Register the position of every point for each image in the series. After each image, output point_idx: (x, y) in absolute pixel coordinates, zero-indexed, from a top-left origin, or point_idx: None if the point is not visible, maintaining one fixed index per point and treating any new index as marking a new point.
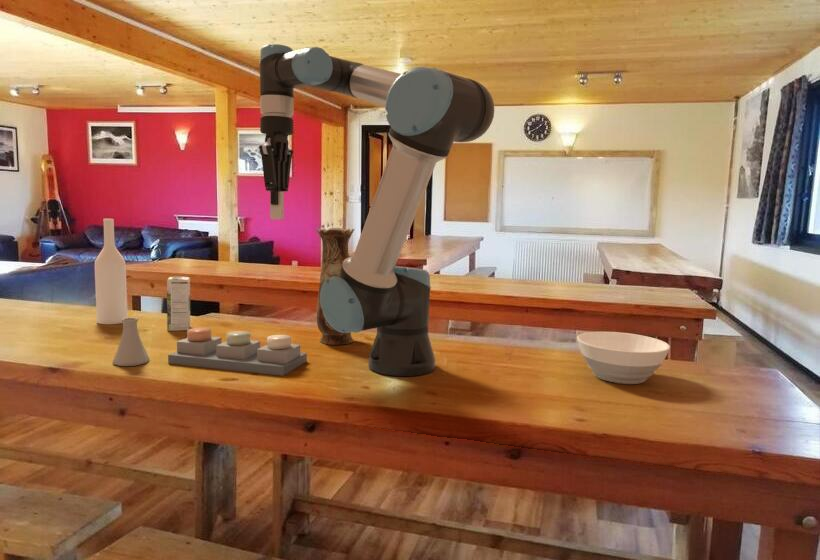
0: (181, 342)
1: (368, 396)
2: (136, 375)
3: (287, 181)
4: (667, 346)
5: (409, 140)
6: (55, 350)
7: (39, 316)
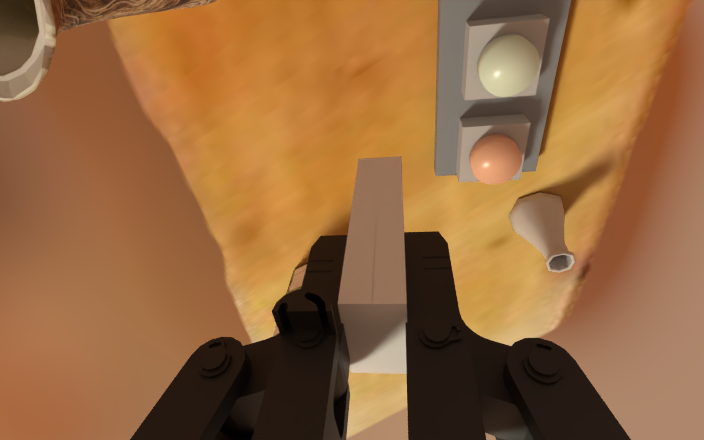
0: (521, 169)
1: None
2: (611, 162)
3: (187, 420)
4: None
5: None
6: (495, 319)
7: (350, 411)
